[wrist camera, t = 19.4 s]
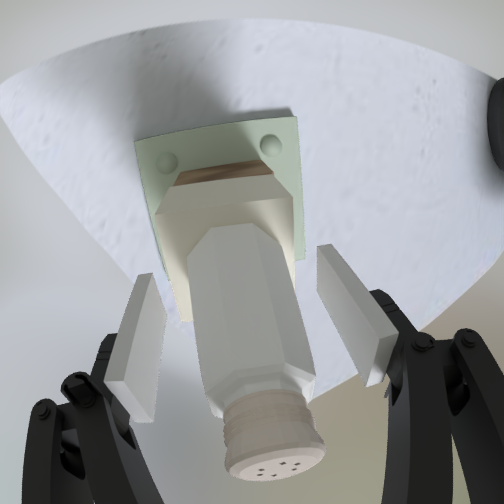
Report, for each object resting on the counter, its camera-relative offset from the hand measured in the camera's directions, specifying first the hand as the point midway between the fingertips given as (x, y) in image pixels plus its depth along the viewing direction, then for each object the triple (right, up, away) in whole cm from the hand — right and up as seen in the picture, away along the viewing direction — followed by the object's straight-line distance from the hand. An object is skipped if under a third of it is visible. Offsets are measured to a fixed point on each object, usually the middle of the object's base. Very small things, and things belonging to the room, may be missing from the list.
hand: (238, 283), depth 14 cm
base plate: (-2, +6, +12) cm, 14 cm away
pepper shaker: (0, +1, +2) cm, 2 cm away
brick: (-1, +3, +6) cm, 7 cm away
